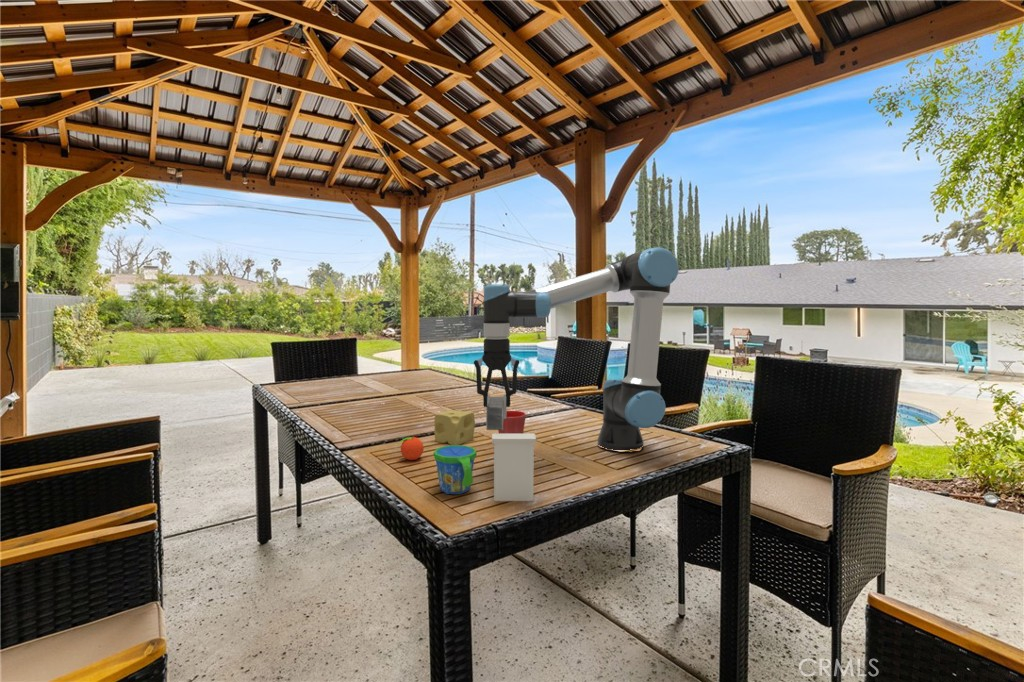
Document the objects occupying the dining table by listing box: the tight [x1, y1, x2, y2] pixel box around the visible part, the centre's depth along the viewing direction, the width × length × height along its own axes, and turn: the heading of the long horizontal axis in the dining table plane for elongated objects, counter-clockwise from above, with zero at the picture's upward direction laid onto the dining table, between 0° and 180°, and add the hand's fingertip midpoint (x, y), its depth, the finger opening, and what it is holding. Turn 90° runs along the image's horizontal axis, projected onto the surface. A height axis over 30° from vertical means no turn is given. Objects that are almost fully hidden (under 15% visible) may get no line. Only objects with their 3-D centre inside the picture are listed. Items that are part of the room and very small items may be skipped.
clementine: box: [398, 436, 425, 461], centre depth 143 cm, size 8×7×7 cm
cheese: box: [433, 409, 476, 446], centre depth 165 cm, size 10×11×10 cm
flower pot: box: [497, 410, 527, 434], centre depth 165 cm, size 11×11×10 cm
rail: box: [485, 396, 504, 431], centre depth 132 cm, size 4×16×6 cm, turn 179°
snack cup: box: [433, 444, 478, 495], centre depth 118 cm, size 16×10×10 cm
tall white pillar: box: [491, 433, 537, 502], centre depth 117 cm, size 10×12×15 cm
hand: (497, 417), depth 137 cm, fingers closed on rail, 4 cm apart
